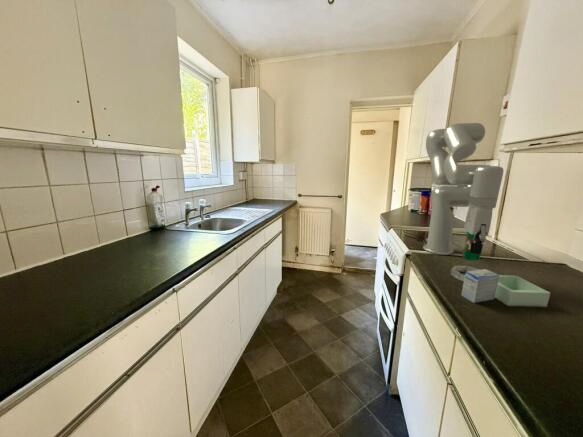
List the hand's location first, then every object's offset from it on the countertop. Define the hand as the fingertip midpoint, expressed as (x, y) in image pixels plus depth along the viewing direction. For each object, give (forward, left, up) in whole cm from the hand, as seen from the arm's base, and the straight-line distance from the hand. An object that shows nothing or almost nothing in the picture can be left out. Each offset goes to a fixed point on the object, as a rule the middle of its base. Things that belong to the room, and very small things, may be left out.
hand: (472, 249), depth 85 cm
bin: (+14, +4, -10) cm, 18 cm away
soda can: (0, 0, -4) cm, 4 cm away
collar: (+1, 0, -10) cm, 11 cm away
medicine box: (+15, -7, -11) cm, 20 cm away
